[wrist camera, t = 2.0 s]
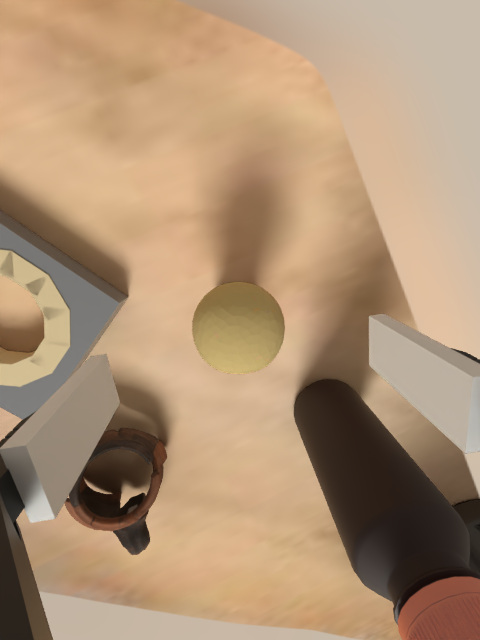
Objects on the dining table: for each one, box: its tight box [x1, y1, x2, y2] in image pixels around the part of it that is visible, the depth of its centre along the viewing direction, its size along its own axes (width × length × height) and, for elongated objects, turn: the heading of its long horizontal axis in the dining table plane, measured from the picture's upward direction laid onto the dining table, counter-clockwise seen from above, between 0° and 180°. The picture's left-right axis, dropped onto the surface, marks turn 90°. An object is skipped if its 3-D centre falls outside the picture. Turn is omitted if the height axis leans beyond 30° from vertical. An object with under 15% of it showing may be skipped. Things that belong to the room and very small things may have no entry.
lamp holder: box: [0, 210, 128, 419], centre depth 26 cm, size 14×14×3 cm
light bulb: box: [192, 282, 285, 374], centre depth 23 cm, size 6×6×10 cm
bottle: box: [294, 379, 480, 640], centre depth 22 cm, size 7×7×20 cm
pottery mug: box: [64, 428, 167, 555], centre depth 30 cm, size 12×10×8 cm
